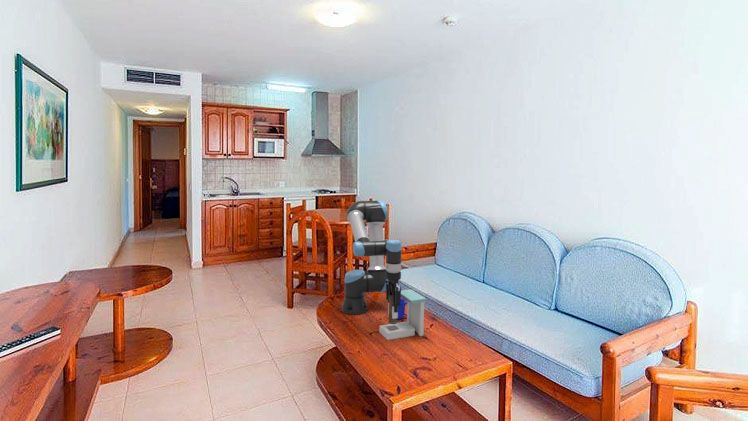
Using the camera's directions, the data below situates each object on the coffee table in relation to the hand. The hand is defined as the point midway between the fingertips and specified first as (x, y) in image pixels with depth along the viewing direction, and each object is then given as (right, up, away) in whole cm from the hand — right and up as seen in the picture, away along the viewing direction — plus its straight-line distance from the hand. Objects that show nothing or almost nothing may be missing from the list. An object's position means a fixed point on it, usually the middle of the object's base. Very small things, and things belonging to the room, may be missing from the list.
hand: (392, 316), depth 201 cm
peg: (0, -3, 0) cm, 3 cm away
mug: (+6, -7, +23) cm, 25 cm away
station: (+4, -9, +3) cm, 11 cm away
